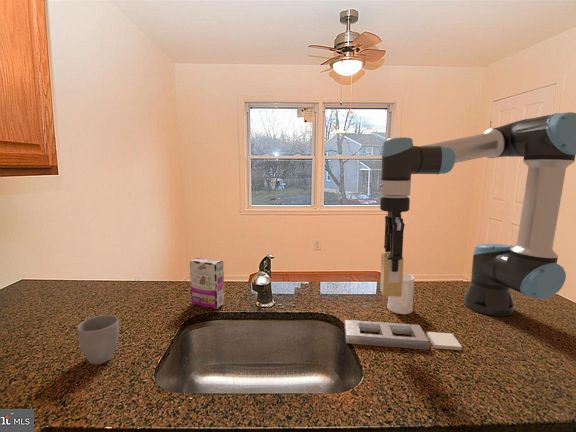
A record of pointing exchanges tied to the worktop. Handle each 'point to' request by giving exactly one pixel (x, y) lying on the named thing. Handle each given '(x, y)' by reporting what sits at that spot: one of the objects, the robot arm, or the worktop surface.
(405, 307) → the mug
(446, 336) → the pad
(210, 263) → the candy bar box
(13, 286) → the worktop surface
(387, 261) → the brass block
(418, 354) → the worktop surface
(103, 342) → the mug
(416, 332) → the rail plate
